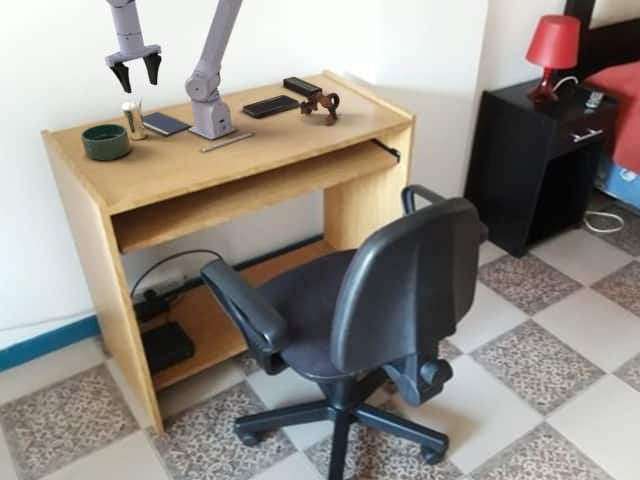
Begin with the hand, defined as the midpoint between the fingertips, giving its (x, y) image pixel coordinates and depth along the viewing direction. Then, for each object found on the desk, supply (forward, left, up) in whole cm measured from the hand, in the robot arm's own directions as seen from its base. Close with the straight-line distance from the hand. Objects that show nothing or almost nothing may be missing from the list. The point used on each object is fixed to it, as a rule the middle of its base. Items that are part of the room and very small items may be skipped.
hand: (141, 88), depth 147 cm
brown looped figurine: (-31, -34, -11) cm, 47 cm away
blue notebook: (-1, -3, -10) cm, 11 cm away
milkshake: (-4, +6, -11) cm, 13 cm away
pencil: (-23, -7, -11) cm, 27 cm away
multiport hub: (-12, -46, -11) cm, 49 cm away
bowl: (-6, +15, -10) cm, 19 cm away
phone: (-15, -30, -10) cm, 35 cm away
